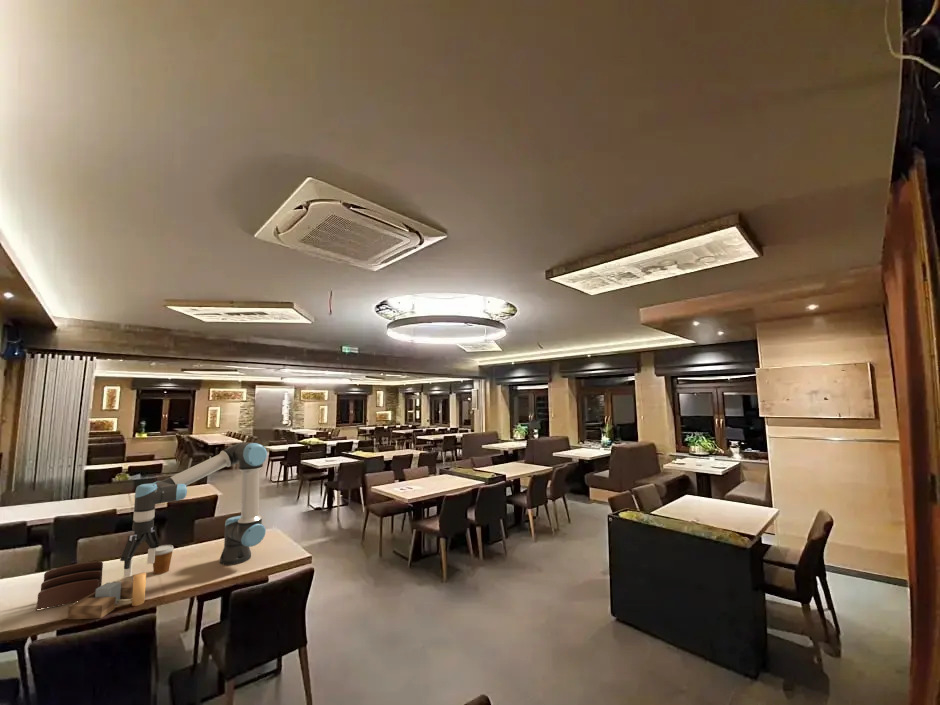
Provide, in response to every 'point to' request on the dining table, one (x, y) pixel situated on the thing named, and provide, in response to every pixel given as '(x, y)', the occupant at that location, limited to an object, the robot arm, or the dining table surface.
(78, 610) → the cubby lane
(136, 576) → the tethered block
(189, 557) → the dining table surface
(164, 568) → the disposable coffee cup
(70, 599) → the letter holder
